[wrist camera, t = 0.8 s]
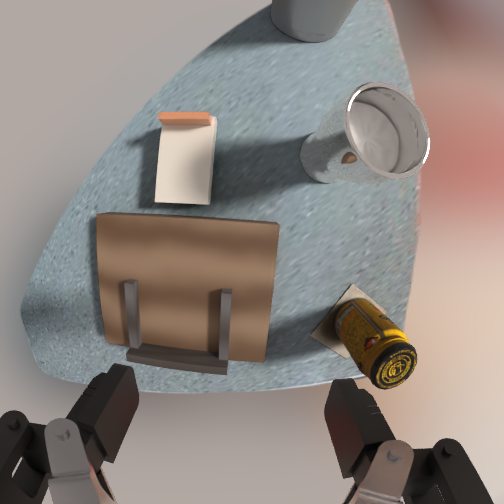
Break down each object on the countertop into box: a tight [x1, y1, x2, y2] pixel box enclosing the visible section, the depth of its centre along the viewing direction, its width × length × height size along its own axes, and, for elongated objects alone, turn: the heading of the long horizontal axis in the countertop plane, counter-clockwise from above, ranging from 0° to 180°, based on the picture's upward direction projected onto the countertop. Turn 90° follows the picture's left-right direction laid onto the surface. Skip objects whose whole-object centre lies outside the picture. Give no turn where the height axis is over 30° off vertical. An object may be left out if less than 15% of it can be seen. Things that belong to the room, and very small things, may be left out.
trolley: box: [155, 112, 218, 205], centre depth 26 cm, size 9×6×6 cm, turn 175°
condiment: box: [310, 284, 417, 389], centre depth 27 cm, size 7×8×12 cm
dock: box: [96, 212, 280, 375], centre depth 28 cm, size 16×20×6 cm
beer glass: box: [300, 82, 430, 184], centre depth 21 cm, size 7×7×15 cm
